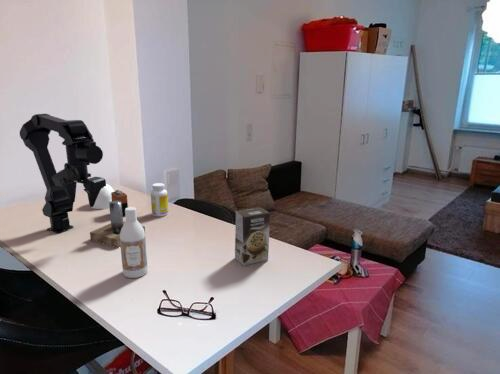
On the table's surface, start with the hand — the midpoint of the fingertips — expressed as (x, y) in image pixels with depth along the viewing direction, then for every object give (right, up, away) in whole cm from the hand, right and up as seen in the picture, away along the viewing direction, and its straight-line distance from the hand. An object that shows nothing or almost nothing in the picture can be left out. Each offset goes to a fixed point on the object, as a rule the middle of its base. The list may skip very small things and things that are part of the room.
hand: (82, 204), depth 128 cm
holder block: (+10, -12, +6) cm, 17 cm away
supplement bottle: (+20, -5, +29) cm, 35 cm away
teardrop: (-8, -2, +39) cm, 39 cm away
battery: (+4, -5, +28) cm, 29 cm away
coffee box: (+57, -17, -8) cm, 60 cm away
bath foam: (+23, -19, -17) cm, 35 cm away
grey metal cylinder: (+10, -12, +6) cm, 17 cm away
